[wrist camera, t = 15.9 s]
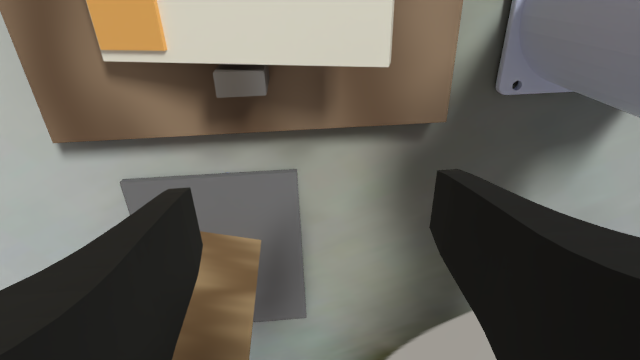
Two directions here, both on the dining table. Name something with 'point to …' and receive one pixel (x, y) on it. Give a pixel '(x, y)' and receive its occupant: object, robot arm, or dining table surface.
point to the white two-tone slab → (245, 31)
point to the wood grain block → (221, 301)
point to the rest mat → (247, 227)
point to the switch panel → (226, 81)
